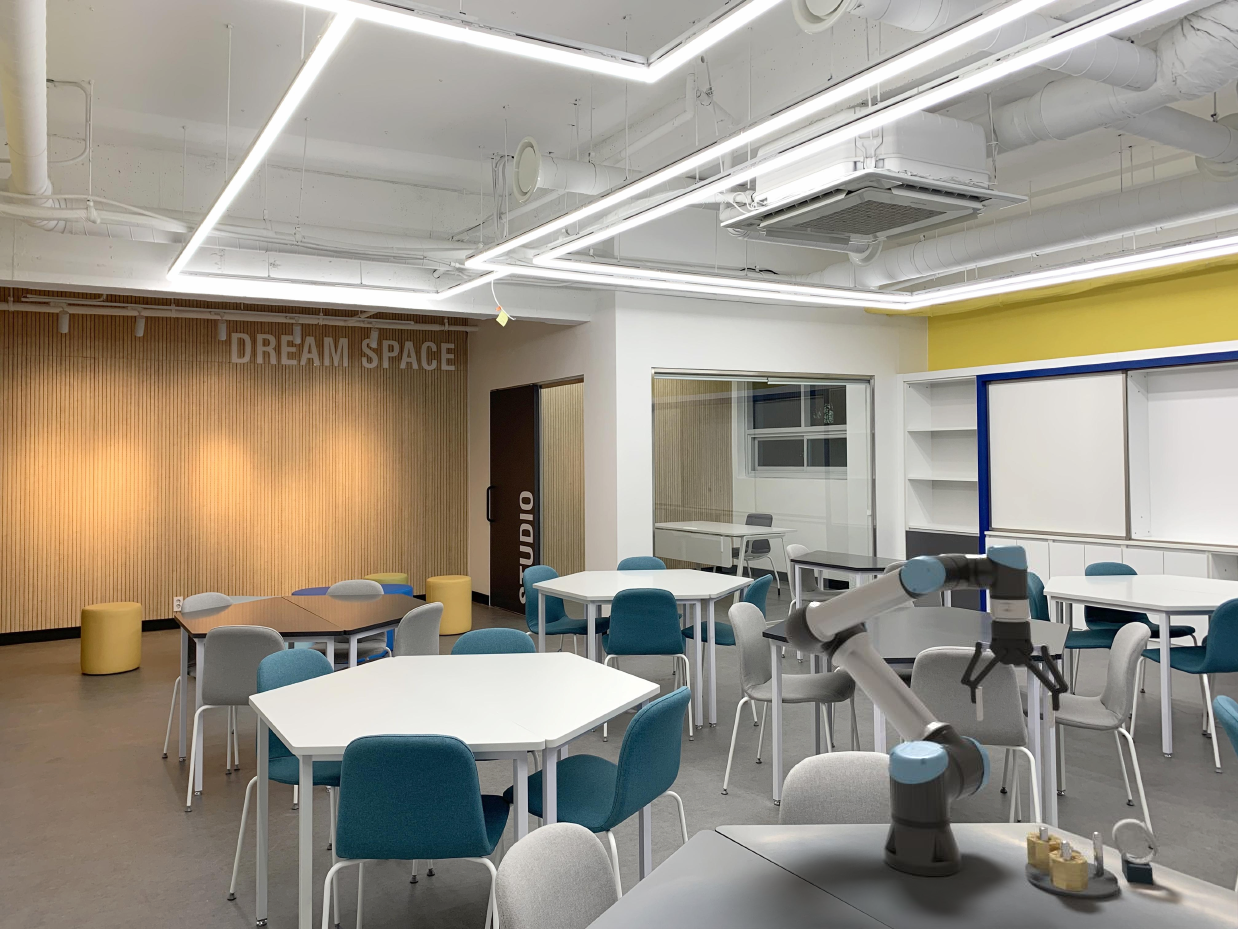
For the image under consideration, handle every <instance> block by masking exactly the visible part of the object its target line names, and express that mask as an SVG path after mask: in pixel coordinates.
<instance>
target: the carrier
mask: <svg viewBox="0 0 1238 929" xmlns="http://www.w3.org/2000/svg"><path fill="white" fill-rule="evenodd" d="M1038 832H1039V837H1040V840H1045V841H1048V834H1049V828H1048V827H1046V826H1039V827H1038ZM1092 846H1093V848H1092V850H1093V862H1094V863H1091V862H1088V861H1087V871H1088V888H1087V889H1085V890H1082V891H1072V890H1065V889H1062V888H1059V887H1057V886H1054V885H1053V884H1052V882H1051V881H1050V870H1048V869H1042V868H1037V867H1035V866H1033V865H1031V864H1029V863H1028V862H1027V863H1026V864H1025V867H1024V868H1025V870H1024V871H1025V877H1026V880H1028V881H1029V882H1030V883H1031V884H1032V885H1033V886H1035V887H1037V888H1039V889H1041V890H1043V891H1047V892H1048V893H1052V894H1055V895H1059V896H1064V897H1068V898H1075V899H1083V900H1099V899H1100V900H1101V899H1107V898H1111V897H1113V896H1115V895H1116V894H1118V892H1119V882H1118V881H1119V880H1118V877H1117V876H1116V875H1115V874H1114V873H1112V872H1111V871H1110V870H1108V869H1106V868H1105V866H1104V849H1103V847H1104V846H1103V835H1102V834H1101V832H1098V831H1095V832H1093V833H1092ZM1058 851H1061V857H1062V858H1064V859H1067V860H1071V852H1074V853H1077V854H1080V855H1082V853H1081V852H1080V851H1078V850H1076V849H1074V847H1073V846H1072V845H1071V844H1070V842H1068V841H1067V840H1063V841H1062V840H1061V849H1059V850H1058Z"/></svg>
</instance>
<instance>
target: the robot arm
mask: <svg viewBox="0 0 1238 929" xmlns="http://www.w3.org/2000/svg"><path fill="white" fill-rule="evenodd" d="M1027 560H1028V559H1027V551H1026V549H1025V547H1024V546H1022V545H1020V544H1019V545H1014V544H1011V545H1009V544H1006V545H1004V544H1002V545H1001V544H999V545H998V544H997V545H996V544H995V545H989V546H987V549H986V553H985V554H973V553H972V554H970V553H969V554H967V553H955V552H954V553H945V554H943V553H941V554H939V555H920V556H917V557H913V558H910V559H909V560H907V561H906V562H905V563H904V565H903V566H902V567H901V566H900V567H899V568H897V569H894V570H892V571H890V572H888V573H886V574H883V575H881V576H878V577H877V578H874V579H872V580H870V581H868V582H865V583H863V584H861V585H859V586H856V587H854V588H853V589H850V590H848V591H846V592H843V593H841V594H839V595H837V596H836V595H835V596H834V597H832V598H831V599H828V600H826V601H824V602H818V601H813V602H810V603H808V604H805V605H802V606H800V607H798V608H795V609H794V610H792V612H791V613H789V614H788V616H787V618H786V620H785V622H784V633H785V637H786V640H787V642H788V643H789V645H790V646H791V647H792V648H793V649H794V650H796V651H798V652H800V653H802V654H804V655H805V654H806V655H815V654H824V656H826V658H827V659H828V660H829V662H831V664H833V666H835V667H843V668H844V670H845V671H846V672H847V673H848V675H850V677H851V678H852V679H853V680H854V681H855V683H856V684H857V685H858V687H859V688H860V689H861V690H862V691H863V692H864V693H865V694H866V696H867V697H868V698H869V700H870V701H871V702H873V704H874V705H875V707H876V708H878V710H879V711H880V712H881V714H883V716H884V717H885V718H886V720H887V721H888V723H890V724H891V726H892V727H893V728H894V729H895V730H896V732H898V734H899V735H900V736H901V737H902V739H903V740H904V741H905V742H902V743H899V744H898V745H895V746H894V747H893V748H892V749H891V750H890V753H889V757H888V758H889V761H888V768H887V769H888V774H889V794H890V797H889V798H890V816H891V817H890V818H891V819H890V820H891V821H890V825H889V828H888V831H887V832H888V833H887V834H886V838H885V841H884V845H883V859H884V861H885V862H886V864H887V865H888V866H890V867H892V868H894V869H896V870H898V871H901V872H904V873H907V874H911V875H916V876H922V877H923V876H924V877H943V876H949V875H953V874H956V873H958V872H959V871H960V870H961V869H962V858H961V857H962V856H961V855H962V854H961V852H960V849H959V846H958V844H957V841H956V838H955V834H954V832H953V830H952V828H951V812H950V808H951V807H950V803H952V802H955V801H957V800H960V799H963V798H966V797H970V796H973V795H975V794H977V793H978V792H979V791H981V790H983V788H985V787H986V786H987V783H988V782H989V779H990V777H991V773H992V772H991V760H990V758H989V756H988V754H987V751H986V750H985V748H984V746H983V745H981V743H980V742H978V741H977V740H975V739H974V738H971V737H968V736H964V735H960V734H959V733H958V731H957V730H956V729H955V728H954V727H953V726H952V725H951V723H948V722H942V721H941V722H940V721H939V720H938V719H937V718H936V716H934V715H933V713H932V712H931V711H930V710H929V709H928V708H927V707H926V706H925V704H924V703H923V702H922V701H921V700H920V699H919V698H918V696H916V695H915V693H914V692H913V691H912V690H911V689H910V688H909V686H908V685H907V684H906V683H905V682H904V681H903V680H902V678H901V677H900V676H899V675H898V674H897V673H896V671H894V669H893V668H892V667H891V666H890V665H889V664H888V662H886V661H885V659H884V658H883V657H882V656H881V655H880V653H879V652H878V651H877V650H876V649H875V648H874V646H873V645H872V644H871V640H872V639H871V638H872V637H871V634H870V633H869V632H868V627H867V621H869V620H871V619H874V618H876V617H878V616H881V615H883V614H886V613H888V612H890V611H893V610H895V609H897V608H900V607H902V606H905V605H907V604H910V603H912V602H915V601H917V600H919V599H922V598H925V597H928V596H931V595H932V594H935V593H938V592H939V593H940V592H948V591H955V590H956V591H957V590H983V591H984V590H985V591H987V590H988V596H989V613H990V614H989V615H990V617H991V618H993V619H991V621H990V636H991V640H990V642H984V641H983V640H978V641H976V642H975V646H974V653H973V655H972V657H971V658H970V662H969V663H968V665H967V667H966V669H965V671H964V673H963V676H962V677H961V680H960V683H961V685H964V686H967V687H969V689H970V702H971V704H976V707H975V708H976V721H977V722H982V721H983V720H984V707H983V705H984V702H983V700H984V699H983V687H982V686H978V685H980V684H981V683H982V681H983V680H984V679H986V677H987V676H988V675H989V674H990V673H991V672H992V670H994V669H995V667H996V666H997V665H998V664H999V663H1001V664H1002V665H1004V666H1009V665H1010V666H1011V665H1013V666H1016V667H1017V666H1019V667H1020V666H1022V665H1024V666H1026V668H1027V669H1029V671H1031V673H1032V674H1034V676H1035V677H1036V678H1037V679H1038V680H1039V682H1040V683H1041V684H1042V685H1043V686H1044V687H1045V688H1046V689H1047V691H1049V693H1048V694H1047V709H1048V728H1049V729H1054V728H1055V726H1056V720H1055V719H1056V718H1055V712H1059V711H1060V708H1061V703H1060V701H1061V700H1060V695H1062V694H1064V693H1065V694H1066V693H1067V692H1068V691H1069V689H1070V687H1069V684H1068V683H1067V682H1066V680H1065V679H1064V676H1063V675H1062V672H1061V671H1060V670H1059V667H1057V664H1056V663H1055V661H1054V659H1053V657H1052V656H1051V652H1050V647H1049V645H1048V644H1047V643H1043V644H1040V645H1038V644H1037V645H1035V644H1033V643H1032V635H1031V634H1032V631H1031V629H1032V628H1031V622H1030V620H1028V619H1029V618H1030V617H1031V614H1030V598H1029V580H1028V579H1029V578H1028V576H1029V575H1028V569H1029V566H1028V561H1027ZM988 649H989V650H990V651H991V653H992V654H993V655H994V657H993V658H992V659H991V660H990V661H989V662H988V664H987V665H985V667H984V668H983V669H982V670H981V671H980V672H979V673H978V674H977V675H976V677H975V678H974V679H971V677H972V675H973V674H974V672H975V669H977V668H976V667H977V666H978V664H979V662H980V659H981V657H982V656H983V653H986V652H987V650H988ZM1034 652H1036V653H1037V655H1038V656H1040V657H1042V659H1043V662H1044V663H1045V665H1046V667H1047V668H1048V670H1049V672H1050V674H1051V675H1052V677H1053V679H1054V681H1055V682H1056V684H1055V683H1054V682H1053V681H1052V680H1051V679H1050V678H1049V676H1048V675H1046V672H1044V671H1043V670H1042V669H1041V668H1040V666H1038V665H1037V664H1036V662H1035V660H1033V658H1031V656H1032V655H1033V653H1034Z"/></svg>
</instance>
